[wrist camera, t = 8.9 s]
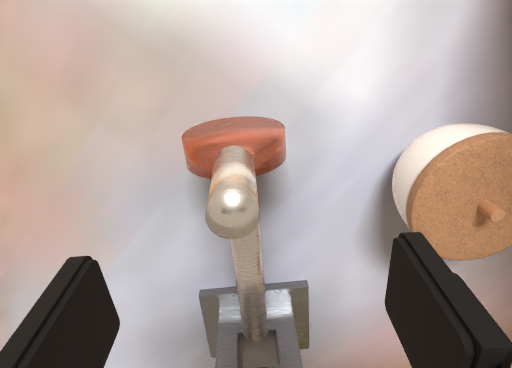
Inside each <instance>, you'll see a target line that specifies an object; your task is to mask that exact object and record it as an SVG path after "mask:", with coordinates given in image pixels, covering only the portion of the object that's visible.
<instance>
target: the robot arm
mask: <svg viewBox="0 0 512 368" xmlns="http://www.w3.org/2000/svg"><path fill="white" fill-rule="evenodd" d="M385 307H386V311H387V313H388V315H389V318H390V320H391V322H392V324H393V326H394V329H395V331H396V333H397V335H398V337H399V340H400V342H401V344H402V346H403V348H404V351H405V353H406V355H407V357H408V359H409V362H410V364H411V366H412V368H512V342H511V341H510V340H509V338H508V337H507V336H506V334H505V333H504V332H503V331H502V329H501V328H500V327H499V326H498V324H497V323H496V322H495V320H494V319H493V318H492V317H491V315H490V314H489V313H488V312H487V310H486V309H485V308H484V306H483V305H482V304H481V303H480V301H479V300H478V299H477V298H476V296H475V295H474V294H473V293H472V291H471V290H470V289H469V287H468V286H467V285H466V284H465V282H464V281H463V280H462V279H461V278H460V277H459V276H458V275H457V274H455V273H452V271H451V270H450V269H449V267H448V266H447V265H446V264H445V262H444V261H443V260H442V258H441V257H440V256H439V254H438V253H437V252H436V251H435V249H434V248H433V247H432V245H431V244H430V243H429V241H428V240H427V239H426V238H425V236H424V235H423V234H422V233H421V232H408V233H400V235H399V237H398V238H395V239H394V240H393V246H392V253H391V260H390V267H389V275H388V282H387V289H386V296H385ZM119 326H120V321H119V317H118V314H117V312H116V309H115V306H114V304H113V301H112V298H111V296H110V293H109V290H108V288H107V285H106V282H105V280H104V277H103V274H102V272H101V269H100V266H99V264H98V262H97V261H96V260H93V259H92V258H91V257H90V256H79V257H70V258H68V259H67V260H66V262H65V263H64V265H63V266H62V267H61V269H60V270H59V271H58V273H57V274H56V276H55V277H54V278H53V280H52V281H51V283H50V284H49V285H48V287H47V288H46V289H45V291H44V292H43V294H42V295H41V296H40V298H39V299H38V300H37V302H36V303H35V305H34V306H33V307H32V309H31V310H30V311H29V313H28V314H27V316H26V317H25V318H24V320H23V321H22V323H21V324H20V325H19V327H18V328H17V329H16V331H15V332H14V334H13V335H12V336H11V338H10V339H9V340H8V342H7V343H6V345H5V346H4V347H3V349H2V350H1V351H0V368H104V365H105V363H106V360H107V358H108V355H109V353H110V350H111V348H112V346H113V343H114V341H115V338H116V336H117V333H118V331H119Z"/></svg>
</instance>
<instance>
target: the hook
mask: <svg viewBox="0 0 512 368" xmlns="http://www.w3.org/2000/svg"><path fill="white" fill-rule="evenodd" d="M182 142H183V147H184V153H185V158H186V164H187V168H188V170H189V171H190V172H192V173H193V174H195V175H197V176H200V177H204V178H209V179H211V185H210V191H209V197H208V203H207V209H206V216H205V217H206V222H207V225H208V227H209V228H210V229H211V231H212V232H213V233H215V234H216V235H218V236H220V237H222V238H226V239H230V241H231V248H232V255H233V263H234V270H235V277H236V285H237V292H238V300H239V307H240V314H241V322H242V329H243V335H244V336H245V338H246V339H248V340H250V341H260V340H262V339H264V338H265V337H266V336H267V334H268V320H267V308H266V297H265V285H264V274H263V262H262V251H261V239H260V228H259V219H260V213H259V204H258V194H257V185H256V176H257V175H260V174H264V173H266V172H269V171H271V170H273V169H275V168H277V167H278V166H280V165H281V164H282V163H283V162H284V160H285V158H286V145H285V127H284V125H283V124H282V123H281V122H279V121H277V120H274V119H270V118H264V117H231V118H224V119H218V120H213V121H209V122H205V123H202V124H199V125H196V126H194V127H192V128H190V129H188V130H187V131H186V132H185V133H184V134H183V135H182Z"/></svg>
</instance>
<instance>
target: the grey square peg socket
mask: <svg viewBox="0 0 512 368" xmlns="http://www.w3.org/2000/svg"><path fill="white" fill-rule="evenodd" d="M264 285H265V297H266V308H267V320H268V334H267V336H266V337H265V338H264V339H262V340H260V341H250V340H248V339H246V338H245V336H244V335H243V329H242V322H241V314H240V307H239V300H238V292H237V287H228V288H217V289H206V290H200V293H199V299H200V304H201V309H202V314H203V319H204V323H205V328H206V333H207V338H208V343H209V348H210V353H211V357H216V368H303V367H302V361H301V356H300V350H299V349H308V348H309V303H308V284H307V280H305V281H294V282H283V283H272V284H264Z"/></svg>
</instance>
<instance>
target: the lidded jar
mask: <svg viewBox="0 0 512 368" xmlns="http://www.w3.org/2000/svg"><path fill="white" fill-rule="evenodd" d="M392 193H393V198H394V201H395V204H396V207H397V209H398V212H399V213H400V215H401V217H402V219H403V220H404V222H405V223H406V225H407V226H408V228H409V229H410V231H411V232H421V233H422V234H423V235H424V236H425V238H426V239H427V240H428V241H429V243H430V244H431V245H432V247H433V248H434V249H435V251H436V252H437V253H438V254H439V256H440V257H441V258H445V259H451V260H472V259H479V258H483V257H486V256H490V255H492V254H495V253H497V252H500V251H502V250H504V249H506V248H508V247H509V246H511V245H512V133H508V132H505V131H503V130H500V129H497V128H494V127H490V126H485V125H479V124H471V123H457V124H450V125H445V126H441V127H438V128H435V129H433V130H430V131H428V132H426V133H424V134H423V135H421V136H420V137H418V138H417V139H415V140H414V141H413V142H412V143H411V144H410V145H409V146H408V147H407V148H406V149H405V150H404V152H403V153H402V154H401V156H400V158H399V159H398V161H397V163H396V166H395V169H394V172H393V177H392Z"/></svg>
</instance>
